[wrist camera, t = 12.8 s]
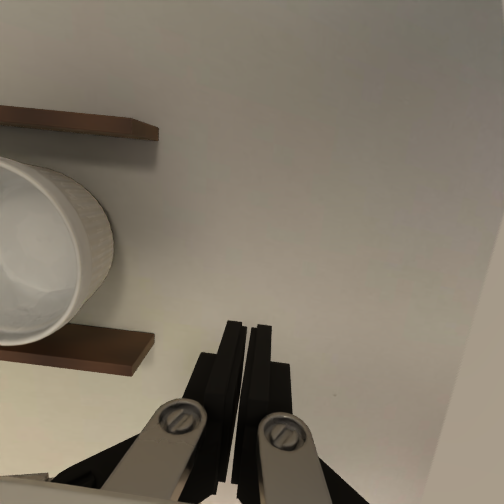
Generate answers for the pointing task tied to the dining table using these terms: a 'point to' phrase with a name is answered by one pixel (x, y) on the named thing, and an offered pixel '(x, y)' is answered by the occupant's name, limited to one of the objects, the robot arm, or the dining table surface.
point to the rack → (71, 335)
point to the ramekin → (47, 250)
